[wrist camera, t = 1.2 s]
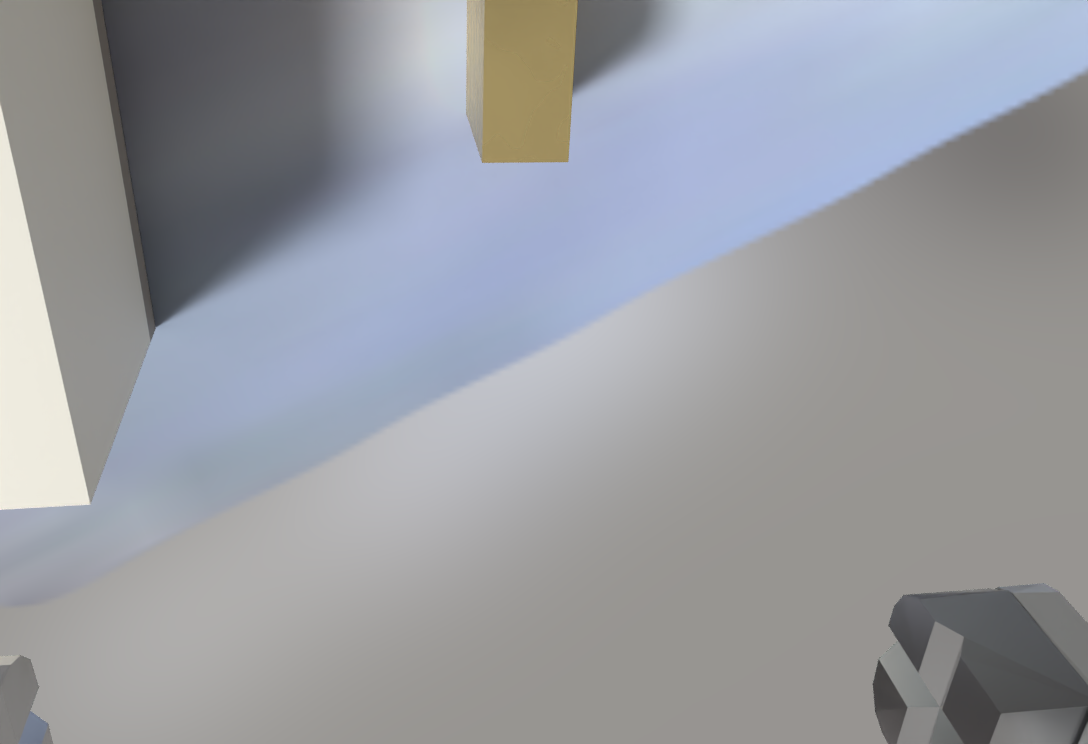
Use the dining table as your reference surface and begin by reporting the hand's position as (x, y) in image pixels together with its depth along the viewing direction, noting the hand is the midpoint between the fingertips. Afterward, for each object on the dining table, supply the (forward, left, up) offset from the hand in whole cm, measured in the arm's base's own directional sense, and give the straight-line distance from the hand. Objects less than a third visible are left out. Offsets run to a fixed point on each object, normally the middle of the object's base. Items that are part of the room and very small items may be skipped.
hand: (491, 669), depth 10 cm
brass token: (-1, +3, -26) cm, 26 cm away
